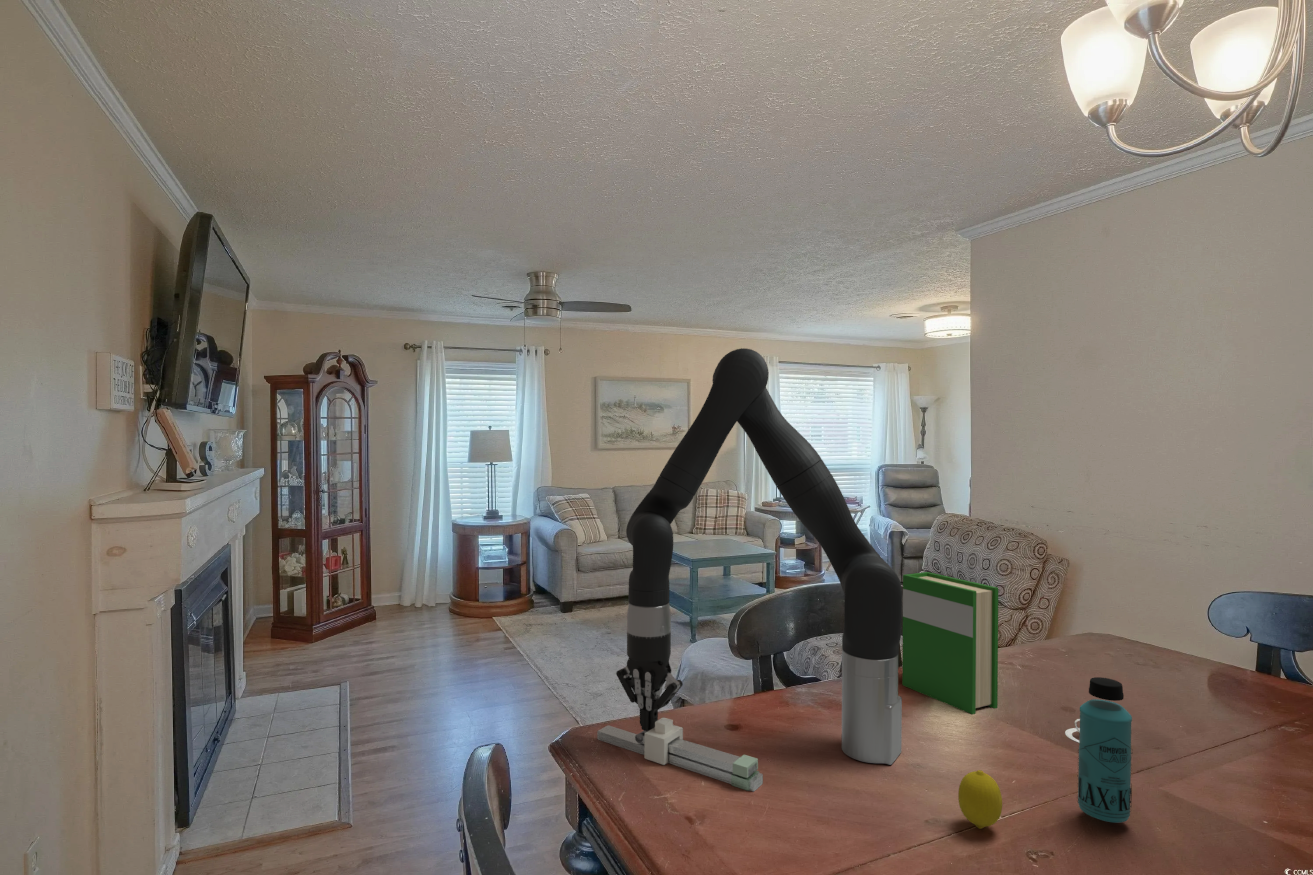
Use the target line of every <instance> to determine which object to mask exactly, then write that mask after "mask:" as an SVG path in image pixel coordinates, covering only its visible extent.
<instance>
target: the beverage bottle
mask: <svg viewBox="0 0 1313 875" xmlns="http://www.w3.org/2000/svg"><path fill="white" fill-rule="evenodd" d="M1088 693H1089V695H1091V696H1092V697H1094V698H1095V699H1094V698H1093V699H1090V700H1087V701H1085V702H1084V703H1083V704H1081V705H1080V706H1079V719H1080V721H1079V728H1080V733H1079V739H1078V740H1079V743H1078V744H1079V746H1078V751H1077V753H1078V756H1077V767H1078V772H1077V774H1076V775H1077V788H1078V789H1077V797H1076V802H1077V804H1078V807H1079V809H1080V810H1081V811H1082V812H1083V813H1085V814H1086V815H1087V816H1090V817H1091V818H1095V819H1097V820H1099V821H1104V822H1109V823H1118V824H1119V823H1125V822H1127V821H1128V820H1129V818H1130V816H1131V815H1132V796H1133V795H1132V793H1133V792H1132V791H1133V789H1132V788H1133V787H1132V786H1133V785H1132V783H1131V781H1132V775H1133V774H1132V755H1133V749H1132V721H1133V717H1132V715H1131V714H1130V712H1129V711H1128V710H1127V709H1125V707H1123V706H1122V705H1121V704H1119V703H1117V702H1118V701H1122V700H1124V690H1123V684H1122V683H1121V682H1120V681H1118V680H1115V679H1112V678H1108V677H1101V676H1100V677H1099V676H1098V677H1097V676H1096V677H1092V678H1090V680H1089V686H1088ZM1113 701H1114V702H1113ZM1115 701H1117V702H1115Z"/></svg>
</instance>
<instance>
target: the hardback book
mask: <svg viewBox="0 0 1313 875" xmlns="http://www.w3.org/2000/svg"><path fill="white" fill-rule="evenodd" d="M901 662H902V663H901V664H902V665H901V666H902V671H901V672H902V674H901V676H902V679H901V680H902V682H901V684H902V686H904V687H906V688H908V689H911V690H913V691H915V692H918V693H920V694H922V695H924V696H927V697H930V698H932V699H934V700H936V701H939V702H941V703H944V704H946V705H948V706H951V707H954V708H956V709H958V710H960V711H963V712H965V713H968V714H969V715H975V714H977V713H976V709H979V708H982V707H986V706H987V707H989V708H992V709H997V708H999V707H998V706H999V705H998V699H999V698H998V697H999V696H998V694H999V691H998V690H999V688H998V686H999V684H998V683H999V681H998V680H999V678H998V677H999V673H998V672H999V587H997V586H992V585H988V584H983V583H979V582H973V581H969V580H964V579H960V578H956V577H950V576H946V575H943V574H938V573H934V572H929V571H925V572H924V571H923V572H916V573H908V574H902V661H901Z"/></svg>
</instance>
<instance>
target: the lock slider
mask: <svg viewBox="0 0 1313 875" xmlns="http://www.w3.org/2000/svg"><path fill="white" fill-rule="evenodd" d="M675 738H679V739H682V740H684V728H683V727H682V726H678V725H675V724H674V720H673V719H671V718H666V717H661V718H658V721H656V722H655V727H654V728H653V729H651V730H649V731H648V732H646V733H645V741H644V755H643V756H644V759H645V760H648V761H651V762H653V763H657V764H660V765H662V766H665V765H667V764H669V763H668V743H669V742H671V741H672V740H674V739H675Z"/></svg>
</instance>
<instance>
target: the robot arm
mask: <svg viewBox="0 0 1313 875" xmlns="http://www.w3.org/2000/svg"><path fill="white" fill-rule="evenodd" d="M769 375H770V374H769V368H768V364H767V362H766V360H765V358H764V357H763V356H762V355H761V354H760V353H759V352H758V351H756V350H754V349H751V348H745V347H744V348H742V347H741V348H736V349H734V350H731V351H729V352H728V353H726V354H725V355H724V356H722V358H721V359H720V360H719V362H717V366H716V367H715V368H714V371H713V375H712V385H711V387H710V390H709V392H708V396H706V400H705V401H704V403H703V405H702V407H701V408H700V410H699V412H698V414H697V416H696V417H695V420H694V421H693V422H692V424H691V426H690V427H689V428H688V429H687V431H686V433H685V434H684V435H683V437H682V439H681V440H680V441H679V443H678V445H677V446H676V448H675V449H674V451H673V453H671V455H670V457H669V458H668V460H667V462H666V463H665V465H664V467H663V469H662V471H661V472H660V474H659V476H658V477H657V479H656V481H655V483H654V485H653V486H652V488H651V489H650V491H649V492H647V494H646V495H645V496H644V498H643V499H642V500H641V501H640V503H639V504H638V505H637V507H635V508H636V509H635V510H634V511H633V513H632V514H631V516H630V518H629V520H628V521H627V525H626V531H625V532H626V538H627V540H628V543H629V544H630V545H631V546H632V570H631V571H630V572H629V577H628V607H627V614H626V655H627V657H628V659H627V660H626V666H624V667H623V668H619V670H617V671H616V676H617V679H618V680H619V682H620V684H621V686H622V688H623V690H624V692H625V694H626V695H627V697H628V699H629V701H630V703H633V704H634V703H635V704H636V705H637V707H638V708H639V725H640V727H641V730H642V731H647V732H648V731H649V730H651V729H653V728H654V727H655V722H656V721H658V720H659V710H661V709H662V708H663V707H666V706H668V704H669V703H671V701H672V699H674V697H675V696H676V694H677V693H678V692H679V690H680V689H681V688H682V687H683V681H682V680H681V679H676V677H675V676H673V674H672V667H671V664H670V658H671V655H672V654H671V653H672V652H671V650H672V647H671V646H672V643H671V642H672V641H671V640H672V637H671V636H672V631H671V630H672V629H671V628H672V623H671V622H672V621H671V620H672V618H671V617H672V616H671V607H670V571H671V567H672V559H673V552H674V532H673V528H672V523H673V521H674V520H675V519H676V517H677V516H678V514H679V512H681V510H684V509H686V508H687V507H688V506H689V505H690V504H691V502H692V501H693V499H694V497H695V496H696V494H697V492H698V490H699V488H700V487H701V485H702V484H703V482H704V480H705V479H706V476H707V474H708V473H709V472H710V469H711V467H712V465H713V464H714V462H715V461H716V460H715V459H716V457H717V456H718V454H719V452H720V450H721V448H722V447H723V444H724V443H725V441H726V440H727V437H728V435H729V434H730V432H732V431H731V430H732V429H733V428H734V426H735V425H736V423H738V425H739V426H740V427H741V428H742V430H743V431H744V432H745V434H746V435H747V437H748V439H749V440H750V442H751V444H752V445H753V448H754V450H755V451H756V453H757V456H758V457H759V459H760V461H761V463H762V464H763V466H764V468H765V469H766V471H767V473H768V475H769V477H770V478H771V479H772V482H773V483H774V485H775V486H776V488H777V489H778V491H779V493H780V494H781V496H782V498H783V499H784V500H785V503H786V504H787V505H788V507H789V508H790V510H791V511H792V512H793V514H794V515H795V516H796V518H797V519H798V520H799V521H800V523H801V524H802V525H803V526H804V527H805V528H806V529H807V530H808V532H809V533H810V534H811V535H812V537H814V539H815V540H816V541H817V543H818V544H819V545H820V547H821V548H822V550H823V552H824V553H825V555H826V556H827V559H828V561H829V563H830V564H831V566H832V568H833V570H834V572H835V574H836V577H837V579H838V581H839V583H840V586H841V589H842V591H843V594H844V595H843V596H844V606H843V607H844V610H843V611H844V617H843V619H844V621H843V625H844V626H843V631H842V636H841V638H842V639H841V644H842V645H841V646H842V649H841V654H842V655H841V658H842V659H841V664H842V665H841V737H840V738H841V750H842V751H843V754H845V755H847V756H848V757H849V758H851V759H853V760H857V761H860V762H863V763H869V764H885V765H892V764H893V763H895V761H896V760H897V758H898V757H899V756H900V754H901V753H902V741H903V739H902V738H903V737H902V734H903V732H902V729H903V727H902V726H903V725H902V723H903V722H902V720H903V718H902V715H903V708H902V707H903V706H902V705H903V702H902V701H903V698H902V696H900V695H899V648H900V646H899V644H900V641H901V636H902V621H903V587H902V583H901V580H900V577H899V575H898V574H897V573H896V571H895V570H894V569H893V568H892V567H891V566H890V565H889V563H888V562H887V561H885V560H884V558H883V557H882V556H881V555H880V554H879V553H878V551H877V550H876V549H875V547H874V546H872V544H871V543H870V542H869V540H868V539H867V538H866V536H865V535H864V533H863V532H862V531H861V529H860V528H859V527H858V525H857V523H856V521H855V519H854V517H853V515H852V513H851V511H850V508H849V506H848V504H847V501H846V499H845V497H844V494H843V493H842V490H841V489H840V486H839V485H838V483H837V481H836V480H835V477H834V476H833V475H832V473H831V471H830V469H828V467H827V465H826V463H825V462H824V460H823V459H822V457H821V456H820V455H819V453H818V452H817V450H816V449H815V448H814V447H813V446H812V444H811V443H810V442H809V441H808V440H807V439H806V438H805V437H804V436H803V435H802V434H801V433H800V432H799V431H798V430H796V428H795V427H794V426H793V425H792V424H790V423H789V422H788V420H787V419H786V418H785V417H784V415H783V414H782V413H781V411H780V410H779V409H778V407H777V405H776V404H775V401H774V400H773V398H772V396H771V395H770V392H769V390H768V389H767V384H768V382H769ZM663 686H664V687H663ZM663 688H664V691H663Z"/></svg>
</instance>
